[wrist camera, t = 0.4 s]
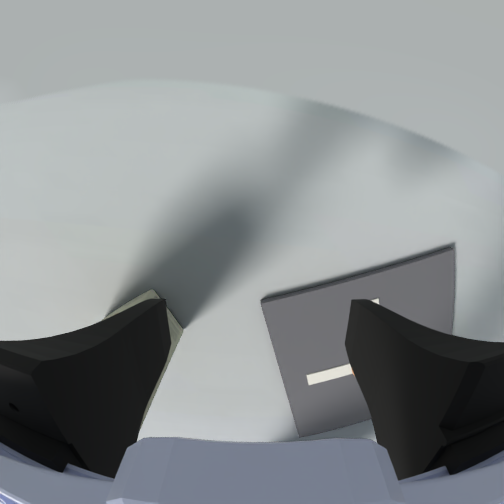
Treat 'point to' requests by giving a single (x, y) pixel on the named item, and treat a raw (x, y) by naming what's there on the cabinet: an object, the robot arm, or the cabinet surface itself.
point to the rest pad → (334, 333)
